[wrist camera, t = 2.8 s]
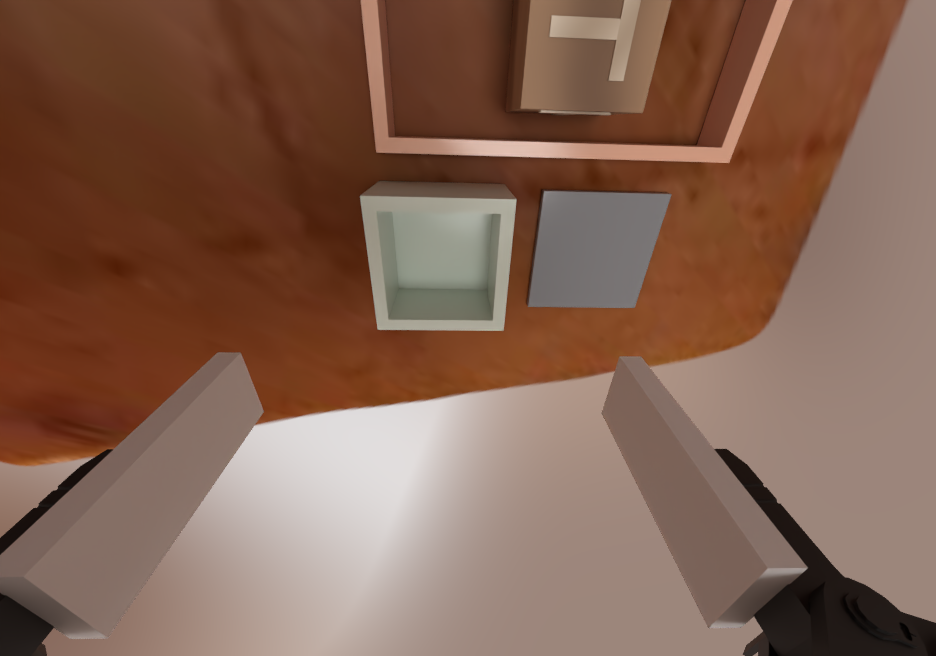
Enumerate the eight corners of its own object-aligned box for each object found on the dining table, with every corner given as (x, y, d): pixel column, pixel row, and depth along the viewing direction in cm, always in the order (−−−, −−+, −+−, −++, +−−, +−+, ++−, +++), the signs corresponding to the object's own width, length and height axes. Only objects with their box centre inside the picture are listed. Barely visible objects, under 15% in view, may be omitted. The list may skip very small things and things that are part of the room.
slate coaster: (526, 303, 28) (528, 306, 28) (542, 189, 24) (544, 191, 23) (631, 304, 29) (634, 307, 28) (666, 192, 24) (671, 194, 23)
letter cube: (504, 113, 21) (520, 110, 16) (514, -21, 18) (538, -79, 13) (597, 117, 21) (642, 115, 16) (623, -15, 18) (690, -69, 13)
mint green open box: (391, 294, 27) (377, 329, 23) (379, 180, 23) (359, 195, 18) (495, 295, 28) (503, 330, 23) (504, 183, 23) (516, 199, 19)
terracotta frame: (384, 149, 22) (376, 152, 20) (361, -95, 16) (347, -128, 14) (703, 159, 23) (728, 162, 21) (784, -71, 17) (830, -97, 15)
